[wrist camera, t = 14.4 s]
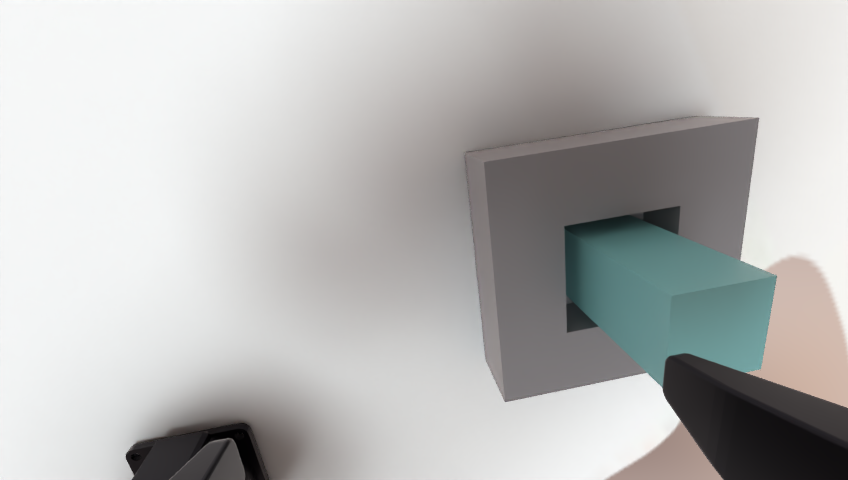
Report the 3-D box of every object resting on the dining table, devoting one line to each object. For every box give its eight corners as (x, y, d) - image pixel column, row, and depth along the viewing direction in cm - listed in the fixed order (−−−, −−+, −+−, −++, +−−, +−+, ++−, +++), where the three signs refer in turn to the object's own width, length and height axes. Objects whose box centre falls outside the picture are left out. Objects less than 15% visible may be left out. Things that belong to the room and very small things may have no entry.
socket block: (678, 321, 24) (727, 355, 21) (485, 360, 23) (504, 402, 20) (695, 116, 20) (759, 117, 17) (464, 152, 19) (483, 161, 16)
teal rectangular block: (624, 277, 22) (760, 369, 14) (560, 289, 21) (664, 389, 14) (626, 213, 20) (776, 275, 13) (558, 225, 20) (671, 295, 13)
